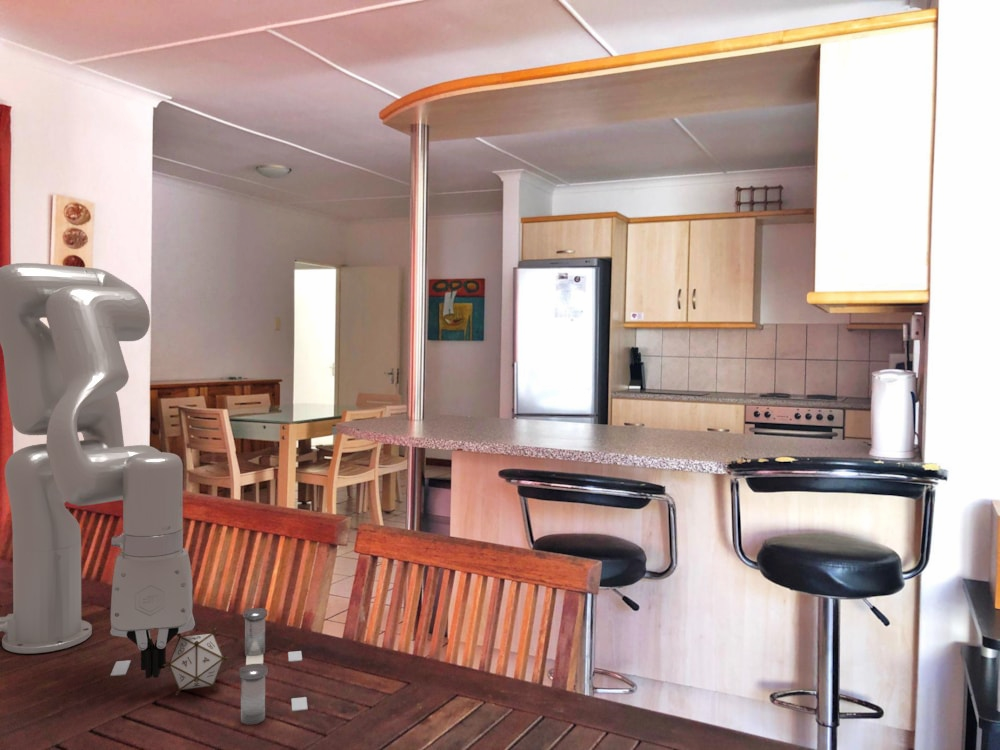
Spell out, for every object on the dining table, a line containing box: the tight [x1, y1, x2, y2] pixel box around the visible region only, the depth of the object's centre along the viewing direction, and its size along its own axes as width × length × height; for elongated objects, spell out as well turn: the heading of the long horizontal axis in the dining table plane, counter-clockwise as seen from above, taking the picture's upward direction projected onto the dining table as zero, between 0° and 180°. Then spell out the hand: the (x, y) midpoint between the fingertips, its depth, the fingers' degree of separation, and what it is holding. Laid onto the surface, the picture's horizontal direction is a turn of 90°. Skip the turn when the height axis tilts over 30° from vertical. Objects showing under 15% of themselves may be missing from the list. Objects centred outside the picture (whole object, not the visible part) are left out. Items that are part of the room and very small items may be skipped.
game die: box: [164, 627, 230, 697], centre depth 113 cm, size 9×8×10 cm
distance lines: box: [110, 650, 309, 712], centre depth 115 cm, size 27×22×1 cm
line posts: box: [238, 607, 269, 726], centre depth 116 cm, size 4×26×7 cm, turn 16°
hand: (153, 673), depth 112 cm, fingers closed
